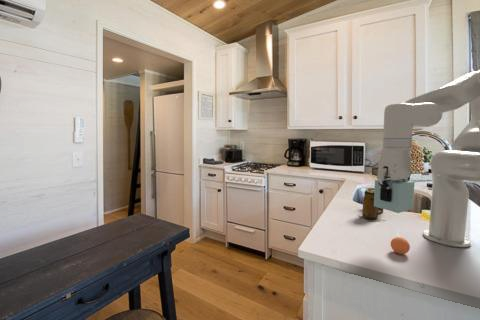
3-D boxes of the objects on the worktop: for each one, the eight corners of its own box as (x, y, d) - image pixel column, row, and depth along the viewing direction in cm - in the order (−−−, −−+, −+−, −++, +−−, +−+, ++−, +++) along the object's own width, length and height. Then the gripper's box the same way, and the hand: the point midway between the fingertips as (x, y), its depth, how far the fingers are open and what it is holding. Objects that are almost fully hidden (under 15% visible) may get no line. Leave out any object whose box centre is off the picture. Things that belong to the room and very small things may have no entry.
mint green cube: (387, 202, 80) (389, 177, 79) (412, 209, 73) (414, 181, 72) (373, 206, 76) (375, 179, 76) (398, 213, 70) (400, 184, 69)
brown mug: (370, 214, 109) (372, 189, 108) (385, 220, 101) (387, 193, 100) (357, 215, 108) (358, 190, 106) (371, 222, 99) (372, 194, 98)
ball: (416, 250, 71) (402, 254, 75) (407, 234, 73) (393, 238, 77) (406, 253, 69) (392, 256, 72) (397, 236, 71) (384, 240, 75)
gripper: (400, 143, 80) (397, 193, 82) (367, 144, 72) (365, 199, 74) (425, 143, 73) (421, 198, 75) (392, 145, 65) (389, 206, 67)
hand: (393, 198), depth 74 cm, fingers closed on mint green cube, 7 cm apart
